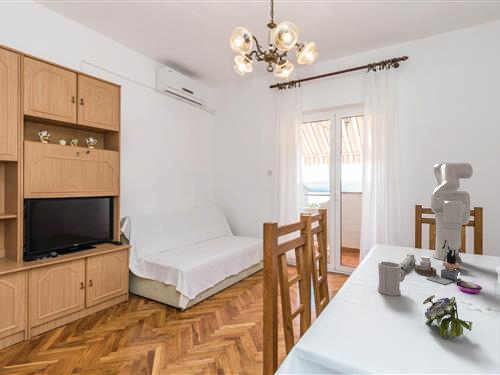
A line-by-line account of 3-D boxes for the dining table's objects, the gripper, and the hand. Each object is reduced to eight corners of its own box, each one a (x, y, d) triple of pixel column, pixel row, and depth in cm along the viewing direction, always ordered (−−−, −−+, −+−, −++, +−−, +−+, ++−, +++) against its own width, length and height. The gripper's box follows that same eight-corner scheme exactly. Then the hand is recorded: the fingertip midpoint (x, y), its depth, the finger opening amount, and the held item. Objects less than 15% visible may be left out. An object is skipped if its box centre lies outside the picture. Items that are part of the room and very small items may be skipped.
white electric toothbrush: (394, 264, 145) (406, 249, 163) (395, 277, 145) (406, 260, 164) (406, 267, 141) (416, 251, 160) (406, 279, 142) (416, 262, 160)
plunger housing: (447, 275, 139) (447, 268, 139) (460, 279, 134) (461, 271, 134) (440, 277, 136) (441, 269, 136) (454, 281, 131) (454, 273, 131)
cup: (383, 285, 125) (383, 259, 125) (405, 291, 119) (405, 263, 118) (374, 291, 118) (374, 264, 118) (397, 298, 111) (397, 269, 111)
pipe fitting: (443, 263, 159) (445, 247, 157) (460, 268, 153) (462, 250, 152) (440, 271, 150) (442, 253, 148) (458, 275, 144) (460, 257, 143)
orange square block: (447, 271, 138) (448, 261, 138) (459, 274, 134) (459, 263, 134) (442, 272, 136) (442, 262, 136) (454, 275, 132) (454, 265, 132)
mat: (435, 276, 138) (435, 275, 138) (453, 282, 131) (453, 280, 131) (426, 279, 134) (426, 278, 134) (444, 284, 127) (444, 283, 127)
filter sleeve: (421, 269, 150) (421, 264, 150) (439, 273, 142) (439, 269, 142) (411, 271, 146) (411, 266, 146) (429, 276, 138) (429, 271, 138)
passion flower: (429, 343, 91) (422, 300, 98) (476, 347, 85) (464, 302, 92) (426, 335, 82) (418, 290, 90) (478, 340, 76) (465, 290, 84)
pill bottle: (430, 274, 141) (431, 258, 140) (419, 273, 143) (420, 257, 143) (430, 272, 145) (430, 256, 144) (419, 270, 147) (420, 255, 147)
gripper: (451, 224, 141) (450, 259, 142) (435, 225, 134) (434, 263, 134) (468, 226, 135) (467, 263, 135) (452, 228, 128) (451, 267, 128)
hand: (451, 263), depth 135 cm, fingers closed
